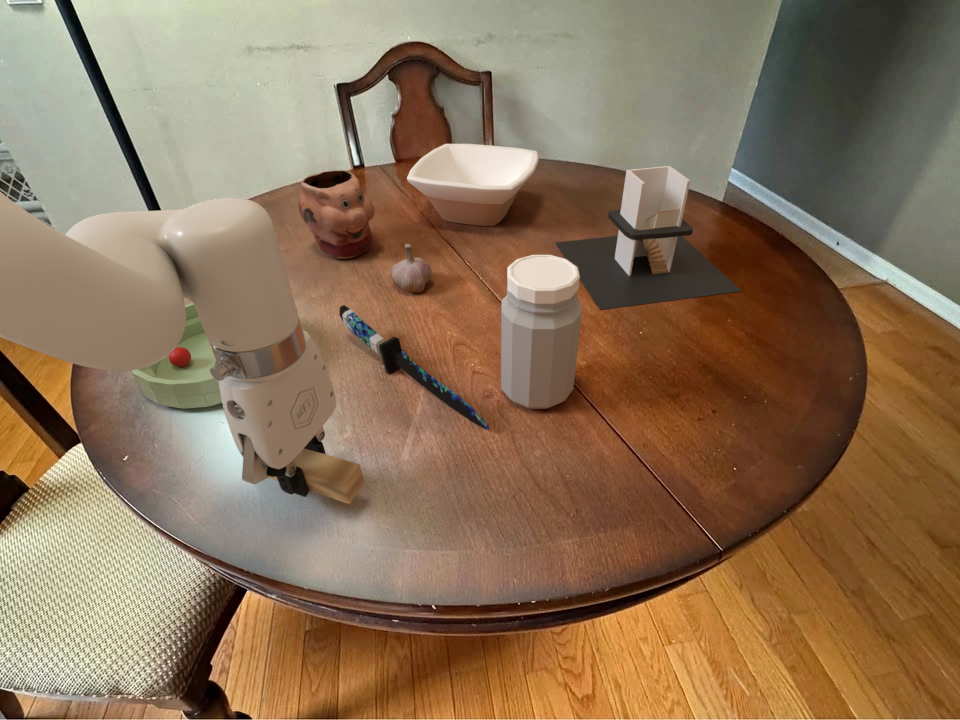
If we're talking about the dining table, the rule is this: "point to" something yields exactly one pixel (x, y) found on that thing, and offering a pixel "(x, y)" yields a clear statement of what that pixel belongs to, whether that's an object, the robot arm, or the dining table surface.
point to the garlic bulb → (411, 272)
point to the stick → (329, 475)
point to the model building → (646, 248)
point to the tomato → (180, 357)
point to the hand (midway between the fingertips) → (306, 477)
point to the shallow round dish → (183, 372)
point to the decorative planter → (337, 213)
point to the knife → (406, 364)
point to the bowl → (473, 180)
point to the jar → (540, 331)
